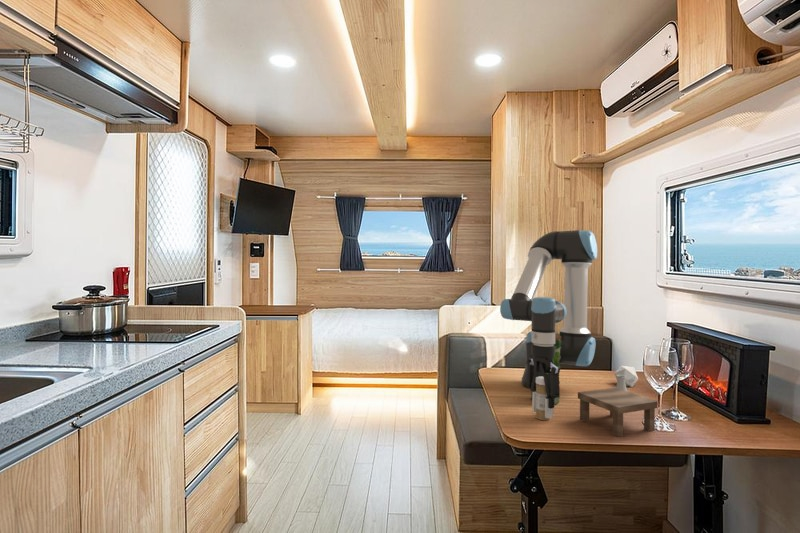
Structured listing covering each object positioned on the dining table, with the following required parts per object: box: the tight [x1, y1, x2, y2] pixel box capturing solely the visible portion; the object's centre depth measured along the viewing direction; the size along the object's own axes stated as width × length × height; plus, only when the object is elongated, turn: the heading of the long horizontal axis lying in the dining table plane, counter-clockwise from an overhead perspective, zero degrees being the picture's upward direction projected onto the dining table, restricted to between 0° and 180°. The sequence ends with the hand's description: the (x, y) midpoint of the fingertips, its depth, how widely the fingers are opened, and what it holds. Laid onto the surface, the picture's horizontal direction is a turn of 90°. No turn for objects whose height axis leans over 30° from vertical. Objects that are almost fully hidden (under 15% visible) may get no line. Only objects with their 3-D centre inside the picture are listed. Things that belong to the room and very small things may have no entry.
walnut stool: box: [577, 386, 658, 438], centre depth 137 cm, size 16×16×9 cm
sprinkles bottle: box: [535, 376, 551, 421], centre depth 143 cm, size 5×5×14 cm
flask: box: [615, 375, 629, 392], centre depth 159 cm, size 7×7×10 cm
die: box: [614, 365, 639, 388], centre depth 183 cm, size 8×9×10 cm
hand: (542, 414), depth 143 cm, fingers open, 6 cm apart
